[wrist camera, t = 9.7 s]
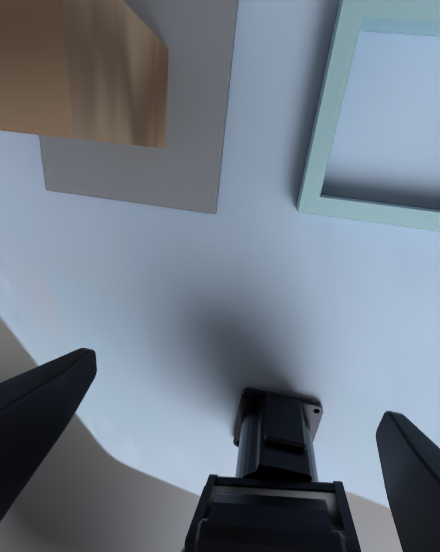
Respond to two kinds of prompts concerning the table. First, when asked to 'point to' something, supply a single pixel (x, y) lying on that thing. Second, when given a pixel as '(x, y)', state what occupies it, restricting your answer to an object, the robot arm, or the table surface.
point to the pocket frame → (349, 21)
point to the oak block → (82, 72)
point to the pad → (180, 118)
